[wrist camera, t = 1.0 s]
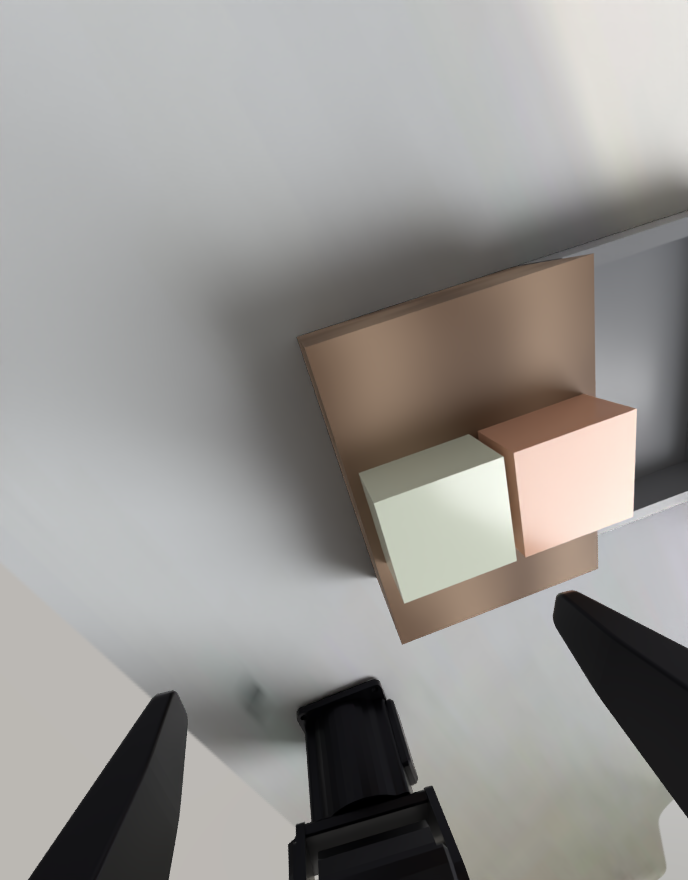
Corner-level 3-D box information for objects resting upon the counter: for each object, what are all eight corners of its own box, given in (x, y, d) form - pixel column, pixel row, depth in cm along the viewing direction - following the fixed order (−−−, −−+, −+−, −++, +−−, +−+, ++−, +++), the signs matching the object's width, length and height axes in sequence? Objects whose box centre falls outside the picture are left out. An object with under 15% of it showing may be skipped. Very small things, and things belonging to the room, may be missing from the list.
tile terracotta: (491, 523, 17) (525, 557, 15) (477, 431, 15) (513, 452, 13) (585, 489, 17) (633, 516, 15) (583, 393, 16) (636, 408, 13)
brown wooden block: (377, 578, 24) (402, 644, 19) (296, 337, 17) (304, 347, 13) (536, 518, 24) (597, 568, 20) (512, 267, 18) (593, 253, 14)
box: (540, 517, 24) (574, 544, 21) (518, 265, 18) (561, 257, 15) (683, 463, 25) (734, 483, 22) (708, 203, 19) (783, 185, 16)
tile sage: (386, 563, 17) (404, 603, 15) (358, 473, 15) (373, 503, 13) (484, 526, 17) (516, 560, 15) (468, 434, 15) (503, 456, 13)
